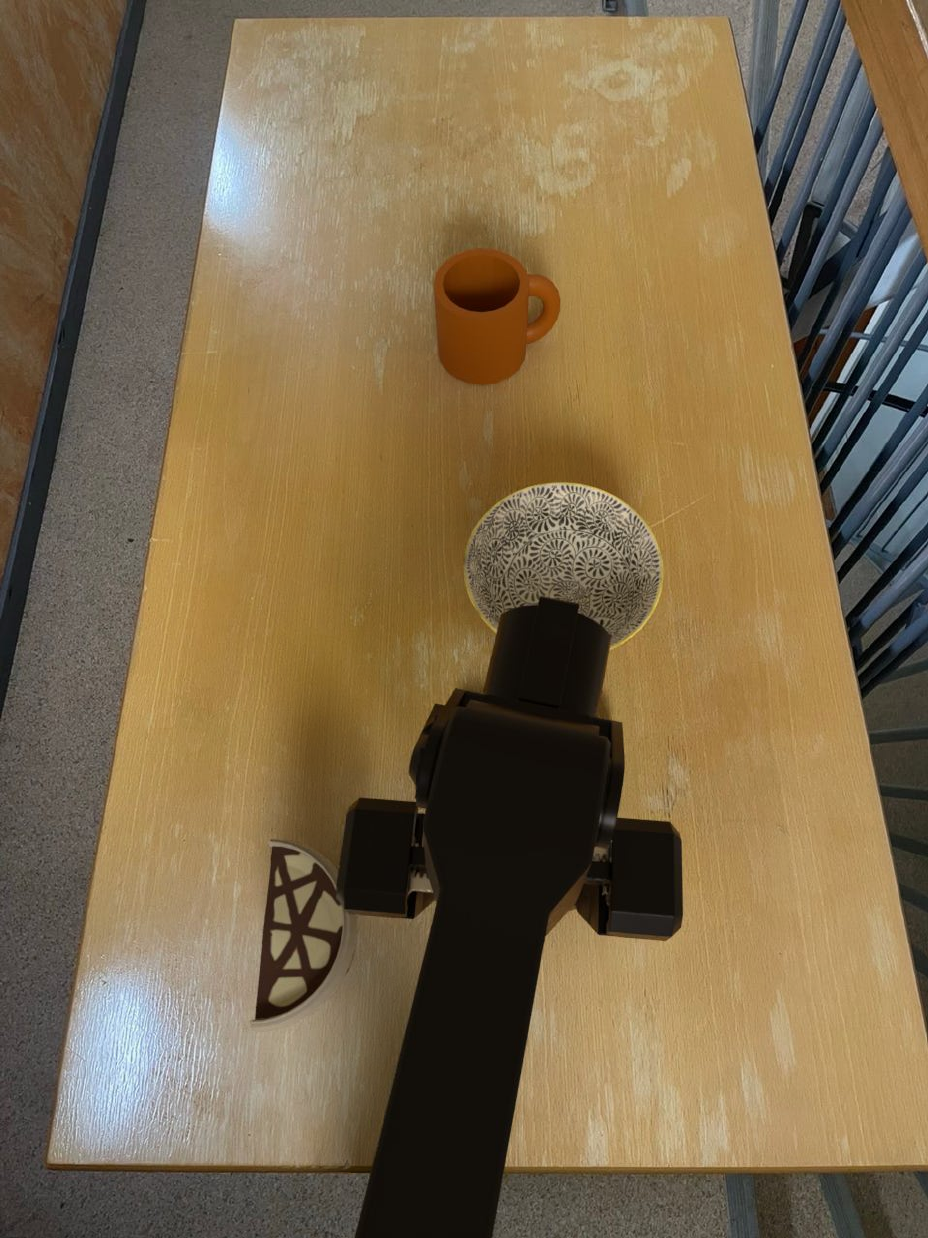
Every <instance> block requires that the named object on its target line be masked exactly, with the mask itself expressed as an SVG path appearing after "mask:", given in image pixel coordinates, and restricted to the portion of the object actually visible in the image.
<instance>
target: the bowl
mask: <svg viewBox="0 0 928 1238" xmlns="http://www.w3.org/2000/svg"><path fill="white" fill-rule="evenodd" d="M462 565H463V566H462V570H463V571H462V573H463V580H464V585H465V589H466V592H467V595H468V597H469V598H468V599H469V600H470V602H471V604H472V606H473V608H474V609H475V612H476V613H477V614H478V616H479V617H480V618H481V620H482V622H483V623H485V624H486V625H487V626H488V627H489V629H491V631H493V632H494V633H495V634H496V633H497V629H498V625H499V620H500V616H501V614H503V613H505V612H506V611H508V610H510V609H512V608H516V607H520V606H529V605H538V602H539V598H540V596H544V597H550V598H555V599H560V600H565V601H570V602H576V603H579V610H578V613H580V614H582V615H584V616H587V617H589V618H591V619H593V620H594V621H596V622H597V623H599V624H600V625H602V626H603V627H604V628H605V630H606V631H607V632H608V633H609V634H610V635H611V636H612V637H611V644H610V649H609V652H610V651H612V650H614V649H615V648H618V647H619V646H621V645H623V644H625V643H626V642H627V641H630V639H632V638H633V637H634V636H635V635H636V634H638V633H639V631H641V629H642V628H643V627H644V626H645V625H646V623H647V622H648V621H649V619H650V618H651V616H653V613H654V612H655V610H656V608H657V605H658V603H659V600H660V599H661V595H662V591H663V585H664V578H665V577H664V576H665V573H664V572H665V571H664V570H665V568H664V559H663V555H662V552H661V549H660V545H659V542H658V540H657V538H656V536H655V533H654V532H653V531H652V529H651V527H650V526H649V524H648V522H647V521H646V520H645V519H644V518H643V517H642V515H641V514H640V513H639V512H638V511H637V510H636V509H634V507H632V506H631V505H630V504H629V503H627V502H626V501H624V500H623V499H621V498H619V497H618V496H616V495H615V494H612V493H610V492H608V491H606V490H603V489H601V488H599V487H595V486H592V485H588V484H584V483H580V482H571V481H553V482H545V483H538V484H534V485H531V486H530V485H529V486H528V487H524V488H521V489H519V490H515V492H514V491H513V492H511V493H510V494H508V495H507V496H505V497H504V498H502V499H500V500H499V501H498V502H496V503H495V504H494V505H492V506H491V507H490V508H489V509H488V510H487V511H486V512H485V513H484V514H483V515H482V516H481V518H480V519H479V520H478V522H477V523H476V525H475V526H474V528H473V529H472V531H471V533H470V535H469V538H468V540H467V542H466V546H465V549H464V554H463V563H462Z"/></svg>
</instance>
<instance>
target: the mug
mask: <svg viewBox="0 0 928 1238" xmlns="http://www.w3.org/2000/svg"><path fill="white" fill-rule="evenodd" d="M434 275H435V276H434V279H433V285H432V286H433V297H434V312H435V325H436V326H435V327H436V340H437V341H436V342H437V353H438V357H439V362H440V364H441V366H442V367H443V369H444V370H445V372H447V373H448V374H449V375H451V376H452V377H453V378H454V379H456V380H458V381H460V382H463V383H465V384H466V383H467V384H469V385H476V386H477V385H478V386H485V385H486V386H487V385H493V384H498V383H501V382H503V381H505V380H507V379H510V378H511V377H512V376H513V375H514V374H516V373H517V372H518V371H519V370H520V368H521V367H522V365H523V364H524V362H525V360H526V359H525V358H526V352H527V345H531V344H533V343H536V342H537V341H540V340H541V339H542V338H544V337H545V336H547V335H548V333H549V332H550V331H551V330H552V329H553V328H554V326H555V324H556V322H557V321H558V317H559V316H560V312H561V296H560V292H559V289H558V288H557V287H556V285H555V283H554V282H553V281H552V280H551V279H549V278H548V277H547V276H544V275H541V274H537V273H528V271H527V270H526V268H525V267H524V265H523V264H522V263H521V262H520V260H518V259H517V258H516V257H514V256H512V255H511V254H509V253H506V252H504V251H501V250H498V249H494V248H483V247H482V248H481V247H480V248H473V249H466V250H464V251H460V252H458V253H456V254H453V255H452V256H450V257H449V258H447V259H446V260H444V262H443V263H442V264H441V265H440V266H439V267H438V269H437V271H436V272H435V274H434ZM530 297H534V298H535V297H536V298H537V299H539V300H540V301H541V303H542V309H541V312H540V313H539V315H538V316H537V317H536V318H535V319H534V320H533V321H530V322H529V305H530V304H529V302H530Z"/></svg>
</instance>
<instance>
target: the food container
mask: <svg viewBox="0 0 928 1238" xmlns="http://www.w3.org/2000/svg"><path fill="white" fill-rule="evenodd" d="M267 844H268V845H269V846H270V849H271V853H270V859H269V860H270V865H269V875H268V884H267V894H266V903H265V911H264V917H263V918H264V919H263V925H262V936H261V938H262V939H261V951H260V963H259V971H258V972H259V974H258V982H257V983H258V985H257V992H256V993H257V995H256V1005H255V1014H254V1019H252V1020H250V1021H248V1024H250V1028H251V1029H252V1031H253V1032H254V1033H255V1034H258V1033H259V1034H260V1033H272V1032H274V1031H278V1030H283V1029H286V1028H289V1027H291V1026H294V1025H295V1024H298V1023H300V1022H301V1021H304V1020H305V1019H307V1018H308V1017H310V1016H312V1015H313V1014H314V1013H315V1012H316V1011H318V1010H319V1009H320V1008H322V1006H324V1005H325V1004H326V1003H327V1002H328V1001H329V999H330V998H331V997H332V996H333V995H334V993H335V992H336V991H337V989H338V988H339V987H340V985H341V984H342V982H343V981H344V979H345V977H346V976H347V974H348V973H349V971H350V968H351V965H352V962H353V958H354V955H355V949H356V945H357V936H358V917H357V916H358V915H353V914H348V913H347V911H346V910H345V909H344V908H343V907H342V905H341V904H340V903H339V901H338V900H337V899H336V884H337V877H338V870H339V869H338V868H337V866H336V865H334V864H333V863H332V862H331V861H330V860H329V859H328V858H327V857H325V856H324V855H322V854H321V853H320V852H318V851H316V850H315V849H314V848H311V847H309V846H307V845H305V844H303V843H301V842H294V841H292V840H289V839H288V840H287V839H278V838H274V839H273V838H270V839H269V840H267Z"/></svg>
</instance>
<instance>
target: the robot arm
mask: <svg viewBox="0 0 928 1238" xmlns="http://www.w3.org/2000/svg"><path fill="white" fill-rule="evenodd" d="M578 610H579V603H576V602H570V601H565V600H560V599H555V598H550V597H544V596H540V598H539V602H538V605H529V606H520V607H516V608H512V609H510V610H508V611H506V612H505V613H503V614H501V616H500V620H499V625H498V629H497V633H495V638H494V642H493V646H492V650H491V655H490V659H489V664H488V668H487V673H486V677H485V681H484V685H483V690H482V692H477V691H472V690H468V689H462V688H458V687H455V688H454V690H453V691H452V692H451V694H450V696H449V698H448V699H447V701H446V702H445V704H441V703H434V704H433V707H432V708H431V711H430V713H429V715H428V717H427V719H426V721H425V724H424V725H423V728H422V730H421V732H420V734H419V736H418V739H417V740H416V743H415V744H414V747H413V749H412V752H411V756H410V760H409V765H408V776H409V777H410V779H411V781H412V782H413V784H414V788H415V789H414V790H415V792H414V799H415V801H412V800H411V801H409V800H400V799H399V800H398V799H386V798H373V797H361V796H360V797H358V798H357V799H356V800H355V801H354V802H353V803H352V804H351V805H350V806H349V807H348V810H347V811H346V815H345V821H344V827H343V828H344V829H343V836H342V843H341V850H340V857H339V858H340V859H339V863H338V869H337V870H338V877H337V884H336V899H337V900H338V901H339V903H340V904H341V905H342V907H343V908H344V909H345V910H346V911H347V913H348V914H353V915H356V916H365V917H366V916H367V917H378V918H390V919H404V920H405V919H406V920H415V919H417V917H418V916H419V915H420V914H421V913H423V912H424V911H425V910H426V909H427V908H428V907H429V906H430V905H431V904H433V902H434V901H435V908H434V913H433V916H432V921H431V925H430V929H429V933H428V937H427V942H426V946H425V949H424V953H423V956H422V957H423V958H422V962H421V966H420V970H419V975H418V978H417V983H416V986H415V990H414V995H413V999H412V1002H411V1006H410V1011H409V1014H408V1019H407V1023H406V1026H405V1031H404V1034H403V1039H402V1043H401V1047H400V1051H399V1055H398V1059H397V1063H396V1067H395V1072H394V1076H393V1080H392V1083H391V1088H390V1092H389V1096H388V1100H387V1104H386V1108H385V1112H384V1116H383V1121H382V1125H381V1128H380V1132H379V1137H378V1140H377V1145H376V1149H375V1152H374V1157H373V1161H372V1165H371V1169H370V1173H369V1177H368V1181H367V1185H366V1189H365V1193H364V1197H363V1201H362V1206H361V1210H360V1213H359V1218H358V1221H357V1225H356V1230H355V1235H354V1238H493V1235H494V1229H495V1224H496V1217H497V1212H498V1206H499V1201H500V1196H501V1190H502V1184H503V1179H504V1173H505V1167H506V1160H507V1156H508V1151H509V1145H510V1144H509V1143H510V1140H511V1133H512V1129H513V1123H514V1122H513V1121H514V1116H515V1111H516V1105H517V1099H518V1094H519V1089H520V1083H521V1077H522V1071H523V1066H524V1059H525V1055H526V1054H525V1053H526V1048H527V1042H528V1037H529V1031H530V1026H531V1020H532V1014H533V1009H534V1003H535V998H536V997H535V996H536V991H537V987H538V980H539V974H540V968H541V963H542V959H543V958H542V957H543V951H544V945H545V942H546V937H547V936H548V934H549V933H550V932H552V930H553V929H554V928H555V927H556V926H557V925H558V924H559V922H560V921H561V920H562V919H563V918H564V917H565V916H566V915H567V913H568V912H570V911H569V910H570V909H571V908H572V906H573V905H574V904H575V907H576V909H575V910H576V912H577V913H578V914H579V916H580V917H581V918H582V919H583V920H584V921H585V923H586V924H588V925H589V927H590V928H591V929H592V930H593V931H594V932H595V934H597V936H605V937H615V938H616V937H617V938H623V939H635V940H646V941H647V940H649V941H658V942H659V941H660V942H667V941H668V940H670V939H671V938H673V936H674V935H675V934H677V932H678V931H680V929H682V925H683V919H684V918H683V917H684V894H683V893H684V890H683V889H684V888H683V841H682V838H681V833H680V832H679V831H678V830H677V827H675V825H674V824H673V823H672V822H671V821H667V820H655V819H641V818H630V817H629V818H628V817H618V815H619V810H620V805H621V799H622V792H623V785H624V778H625V770H626V769H625V767H626V760H625V744H624V741H625V740H624V727H623V725H624V724H623V721H618V720H613V719H608V718H604V717H600V716H599V712H600V705H601V699H602V695H603V690H604V689H603V688H604V684H605V678H606V673H607V672H606V671H607V665H608V660H609V654H610V651H609V649H610V644H611V637H612V636H611V635H610V634H609V633H608V632H607V631H606V630H605V628H604V627H603V626H602V625H600V624H599V623H597V622H596V621H594V620H593V619H591V618H589V617H587V616H584V615H582V614H580V613H578ZM419 808H420V809H424V810H425V812H424V813H423V812H419Z"/></svg>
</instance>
